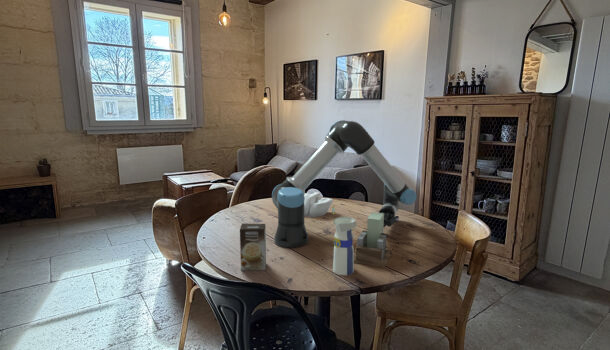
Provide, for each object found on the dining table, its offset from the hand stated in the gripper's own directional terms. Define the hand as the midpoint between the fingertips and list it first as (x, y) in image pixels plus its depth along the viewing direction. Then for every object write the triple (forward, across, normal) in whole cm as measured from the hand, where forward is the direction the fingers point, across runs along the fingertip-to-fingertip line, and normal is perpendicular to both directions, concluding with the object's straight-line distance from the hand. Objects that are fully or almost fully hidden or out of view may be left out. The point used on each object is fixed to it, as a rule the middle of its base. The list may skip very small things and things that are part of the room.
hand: (378, 228), depth 145 cm
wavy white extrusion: (-33, +50, -8) cm, 60 cm away
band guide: (+14, 0, -7) cm, 16 cm away
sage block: (+8, 0, -6) cm, 10 cm away
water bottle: (+29, +7, -8) cm, 31 cm away
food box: (+39, +39, -8) cm, 56 cm away
